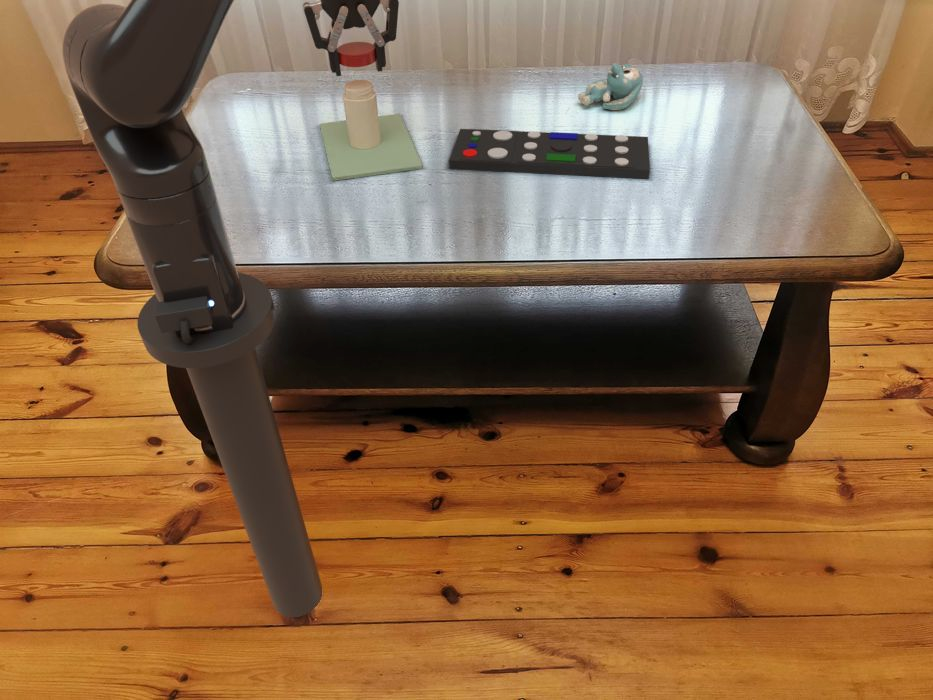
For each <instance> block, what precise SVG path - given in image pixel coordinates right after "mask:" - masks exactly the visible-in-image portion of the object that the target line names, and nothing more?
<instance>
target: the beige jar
mask: <svg viewBox="0 0 933 700" xmlns="http://www.w3.org/2000/svg"><path fill="white" fill-rule="evenodd" d="M343 88H344V89H343V90H344V93H343V94H342V101H343V108H344V116H345V120H346V123H347V131H348V138H349V144H350V146H351V147H353V148H356V149H370V148H374V147H376V146H378V145H379V144H380V143H381V135H380V125H379V116H380V115H379V108H378V98H377V91H375V90H374V84H373V82H372V81H370V80H367V79H353V80H350V81H347V82H346V83H345V84H344V85H343Z"/></svg>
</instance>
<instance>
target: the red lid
mask: <svg viewBox="0 0 933 700" xmlns="http://www.w3.org/2000/svg"><path fill="white" fill-rule="evenodd" d="M337 50H338V54H339V62H340V66H343V67H347V68H361V67H367V66H370V65H372V64H374V63H375V61H376V52H375V46H374V43H371V42H367V41H351V42H345V43H343V44H341V45H339V46H337Z"/></svg>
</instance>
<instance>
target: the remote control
mask: <svg viewBox="0 0 933 700" xmlns="http://www.w3.org/2000/svg"><path fill="white" fill-rule="evenodd" d="M649 148H650V147H649V136H638V135H624V134H618V135H613V134H595V133H578V132H557V131H549V132H545V131H543V132H542V131H533V130H532V131H523V130H521V131H520V130H506V129H505V130H504V129H502V130H501V129H500V130H499V129H479V128H478V129H477V128H459V131H458V134H457V136H456V139H455V142H454V145H453V148H452V151H451V153H450V156H449V159H448V169H449V170H464V171H483V172H499V173H500V172H502V173H519V174H520V173H523V174H538V175H539V174H540V175H561V176H581V177H582V176H583V177H599V178H600V177H602V178H622V179H639V180H640V179H641V180H649V179H650V174H651V173H650V172H651V165H650V149H649Z"/></svg>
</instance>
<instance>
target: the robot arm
mask: <svg viewBox="0 0 933 700" xmlns="http://www.w3.org/2000/svg"><path fill="white" fill-rule="evenodd" d="M234 1H235V0H130V1H129V3H128V5H126V6H124V5H120V4H114V3H99V4H94V5H91V6H89V7H86V8H85V9H83V10H81V11H79V12H78V13H77V14H76V15H75V16H74V17H73V18H72V19H71V20H70V22H69V24H68V25H67V27H66V29H65V32H64V35H63V40H62V48H61V49H62V51H61V52H62V59H63V65H64V68H65V72H66V75H67V78H68V81H69V84H70V86H71V89H72V92H73V94H74V97H75V100H76V102H77V104H78V107H79V109H80V112H81V114H82V117H83V119H84V122H85V124H86V126H87V127H86V128H88V131H89V134H90V137H91V139H92V141H93V144H94V146H95V149H96V150H97V153H98V154H99V157H100V158H101V160H102V162H103V163H104V165H105V167H106V168H107V171H108V172H109V175H110V176H111V179H112V182H113V184H114V186H115V187H114V188H115V189H116V191H117V195H118V197H119V200H120V204H121V205H122V209H123V211H124V213H125V217H126V219H127V222H128V225H129V227H130V230H131V233H132V236H133V239H134V241H135V243H136V244H135V245H136V246H137V248H138V252H139V254H140V257H141V260H142V262H143V265H144V268H145V270H146V273H147V275H148V278H149V281H150V284H151V286H152V289H153V292H154V294H156V297H157V300H158V302H156V310H155V317H156V320H157V323H158V325H159V328H160V331H161V333H166V332H172V331H175V333H176V336H177V337H178V338H179V337H182V340H183V341H184V342H185V343H187V344H190V343H192V342H193V338H192V337H191V335H197V334H204V333H209V332H215V331H221V330H227V329H231V328H233V322H234V321H235V320H237V319H238V318H239V317H240V316H241V314H242V313H243V312H244V310H245V307H246V298H245V294H244V291H243V289H242V286H241V283H240V279H239V276H238V269H237V266H236V262H235V258H234V255H233V251H232V248H231V244H230V241H229V236H228V234H227V229H226V226H225V222H224V219H223V215H222V211H221V207H220V206H219V201H218V197H217V194H216V190H215V185H214V182H213V178H212V175H211V172H210V168H209V163H208V160H207V157H206V153H205V150H204V147H203V145H202V143H201V141H200V140H199V138H198V137H197V135H196V133H195V132H194V130H193V128H192V126H191V125H190V123H189V121H188V120H187V117H186V115H185V113H184V111H183V108H184V107H185V105H186V104H187V103H188V101H189V99H190V97H191V96H192V93H193V91H194V89H195V88H196V85H197V83H198V81H199V79H200V77H201V74H202V72H203V69H204V67H205V65H206V62H207V61H208V58H209V55H210V53H211V52H212V49H213V46H214V44H215V42H216V39H217V37H218V35H219V32H220V30H221V28H222V25H223V23H224V21H225V19H226V17H227V15H228V13H229V11H230V9H231V7H232V5H233V3H234ZM380 5H382V10H383V11H384V12H385V13H386V18H385V30H384V31H382V32H380V29H379V28H378V26H377V25H376V23H375V21H374V19H373V17H374V16H375V14H376V11H377V10H378V8H379V6H380ZM399 5H400V2H399V0H318V1H315V2H312V3H311V2H308V1H306V2H304V3H303V4H302V10H303V12H304V15H305V18H306V21H307V26H308V28H309V32H310V35H311V38H312V40H313V44H314V47H315V48H316V49H317V50H321V49H322V50H325V51H327V55H328V62H329V63H328V64H329V68H330V71H331V73H332V74H335V76H336V77H342V70H341V64H340V62H339V54H338V50H337V48H338V45H339V44H338V43H339V41H340V38H341V36H342V32H343V30H350V29H352V28H358V29H362V28H365V27H366V28H367V30H368V31H369V33H370V34H371V37H372V38H373V40H374V42H373V45H374V46H375V52H376V61H375V62H374V63H375V69H376V71H377V72H378V73H379V72H383V68H385V67H386V65H387V59H386V57H387V56H386V48H385V47H386V44H387V43H389V42H395V41H396V39H397V30H398V18H399ZM322 10H323V11H324V13H326V14H327V16H328V17H329V18H330V19H331V21H330V24H329V30H328V34H327V37H323V36H321V33H320V29H319V26H318V23H317V21H318V20H319V19H320V18H321V11H322Z"/></svg>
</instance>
